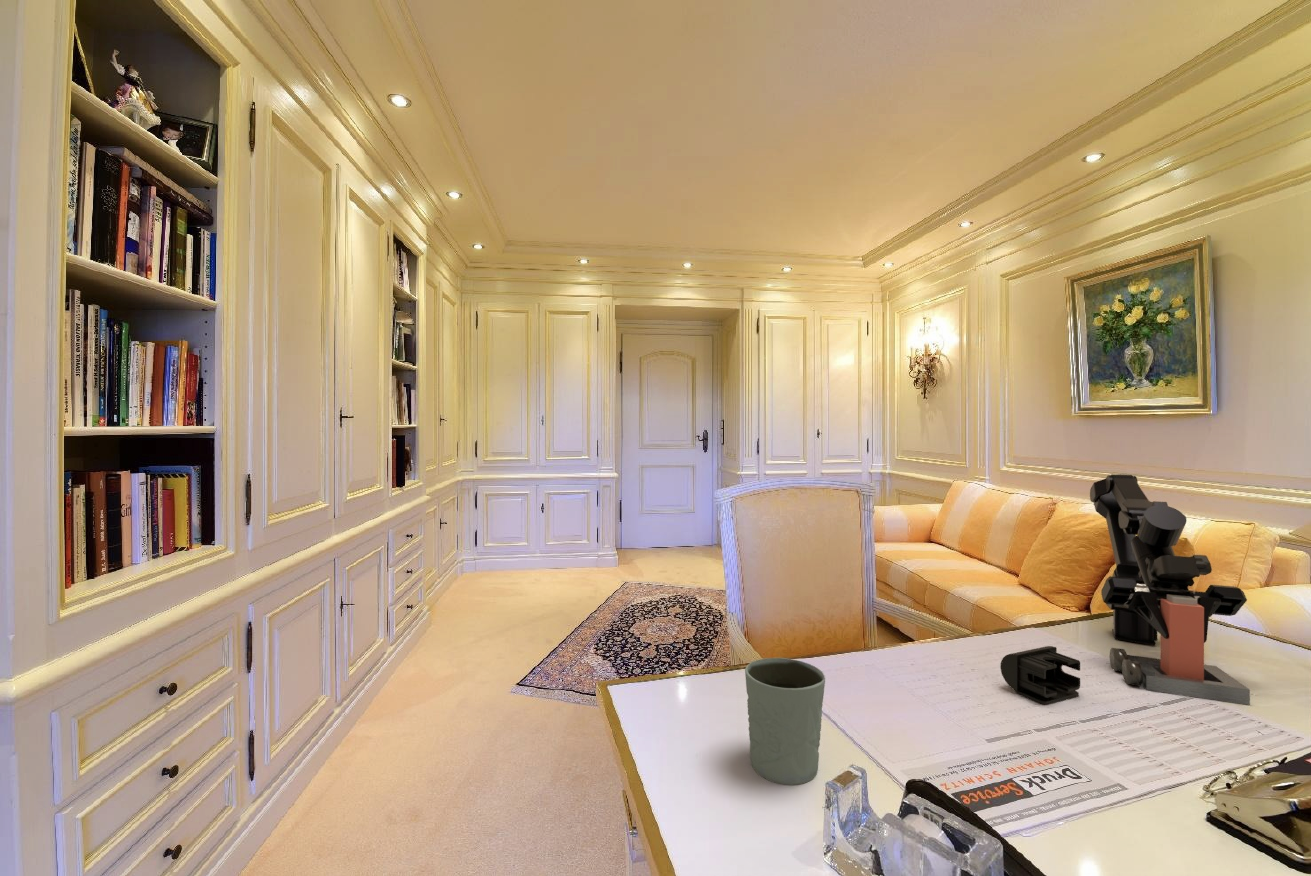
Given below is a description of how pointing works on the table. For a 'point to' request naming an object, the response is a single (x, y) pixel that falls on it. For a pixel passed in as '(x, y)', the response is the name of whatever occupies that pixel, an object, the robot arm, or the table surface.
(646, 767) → the table surface
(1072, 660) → the end cap
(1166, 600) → the reddish-brown tall block
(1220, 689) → the chassis
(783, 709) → the grey cup
